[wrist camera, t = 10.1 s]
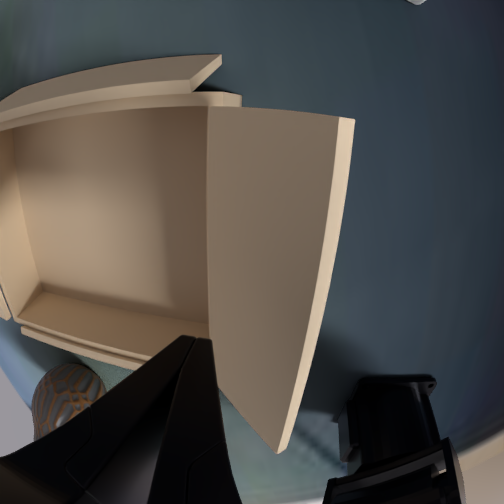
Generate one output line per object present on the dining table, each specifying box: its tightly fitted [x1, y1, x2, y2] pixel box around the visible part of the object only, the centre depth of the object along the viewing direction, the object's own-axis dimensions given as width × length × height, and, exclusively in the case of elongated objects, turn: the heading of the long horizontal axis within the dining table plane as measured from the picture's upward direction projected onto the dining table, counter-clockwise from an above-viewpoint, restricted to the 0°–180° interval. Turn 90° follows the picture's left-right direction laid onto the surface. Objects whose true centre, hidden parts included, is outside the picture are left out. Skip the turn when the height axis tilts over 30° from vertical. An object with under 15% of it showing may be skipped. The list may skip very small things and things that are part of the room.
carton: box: [0, 54, 242, 370], centre depth 14 cm, size 15×17×4 cm
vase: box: [32, 364, 107, 441], centre depth 21 cm, size 7×7×9 cm
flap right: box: [208, 106, 355, 454], centre depth 10 cm, size 1×12×5 cm
